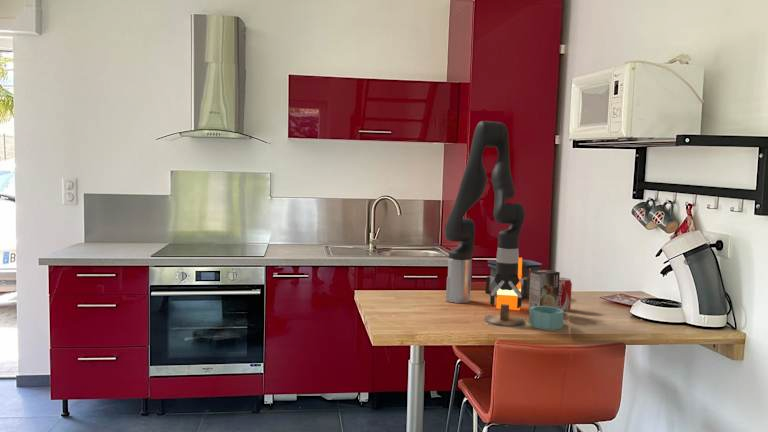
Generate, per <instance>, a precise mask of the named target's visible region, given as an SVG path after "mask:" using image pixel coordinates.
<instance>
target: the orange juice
mask: <svg viewBox="0 0 768 432" xmlns="http://www.w3.org/2000/svg"><path fill="white" fill-rule="evenodd" d="M522 260H523V257H519V262H518V278H519V279H521V275H522ZM516 286H517V288H518V289H519V291H520V292H521V282H519V283H518V284H517V285H516ZM517 298H518V296H517V294H516V293H515V292H514V290H502V289H499V290H498V291H497V296H496V308H495V309H499V310H501V304H508V305H509V311H510V310H513V311H520V309H521V307H519V308H517Z"/></svg>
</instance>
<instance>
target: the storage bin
mask: <svg viewBox="0 0 768 432" xmlns="http://www.w3.org/2000/svg"><path fill="white" fill-rule="evenodd" d="M487 263H488V264H487V267H489V268H490V277H495V276H496V259H495V260H494V259H493V260H492V259H491V260H490V259H489V260H487ZM542 265H543V263H541V262H538V261H534V260H530V259H522V275H521V279H524V278H526V279H527V296H524V297H523V298H527V297H528V298H529V291H530V271H538V270H542V267H541V266H542ZM496 286H497V284H496V282H495V281H494V280H493V281H492V283H490V290H491V291H493V289H494V288H495V287H496ZM523 292H524V291H523V285H522V284H521V293H523ZM494 295H495V296H496V297H497V292H496V293H495V294H494Z"/></svg>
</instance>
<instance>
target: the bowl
mask: <svg viewBox="0 0 768 432" xmlns="http://www.w3.org/2000/svg"><path fill="white" fill-rule="evenodd" d="M528 312H529V311H528ZM564 312H565V311H563V310H562V309H560V308H556V307H551V306H533V307H530V312H529V314H528V315H529V316H528V325H529V326H531V327H532V328H535V329H539V330H548V331H550V330H551V331H552V330H553V331H554V330H556V331H557V330H560V329H563V326H564Z"/></svg>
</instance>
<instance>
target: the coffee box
mask: <svg viewBox="0 0 768 432" xmlns="http://www.w3.org/2000/svg"><path fill="white" fill-rule="evenodd" d="M560 274H561V273H560V271H556V270H550V269H538V271H530V291H529V297H528V312H530V307H533V306H551V307H556V308H558V301H559V278H561V277H560Z"/></svg>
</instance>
